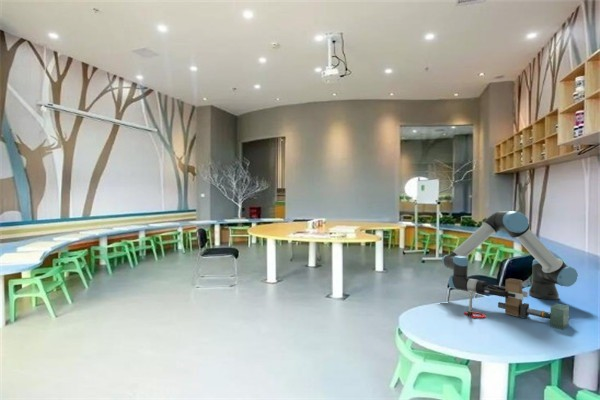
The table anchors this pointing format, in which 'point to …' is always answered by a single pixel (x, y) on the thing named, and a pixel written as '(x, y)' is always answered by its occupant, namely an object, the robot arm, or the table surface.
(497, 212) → the robot arm
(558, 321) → the rod stand
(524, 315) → the collar
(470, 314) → the tow hook
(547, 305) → the table surface
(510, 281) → the sleeve
